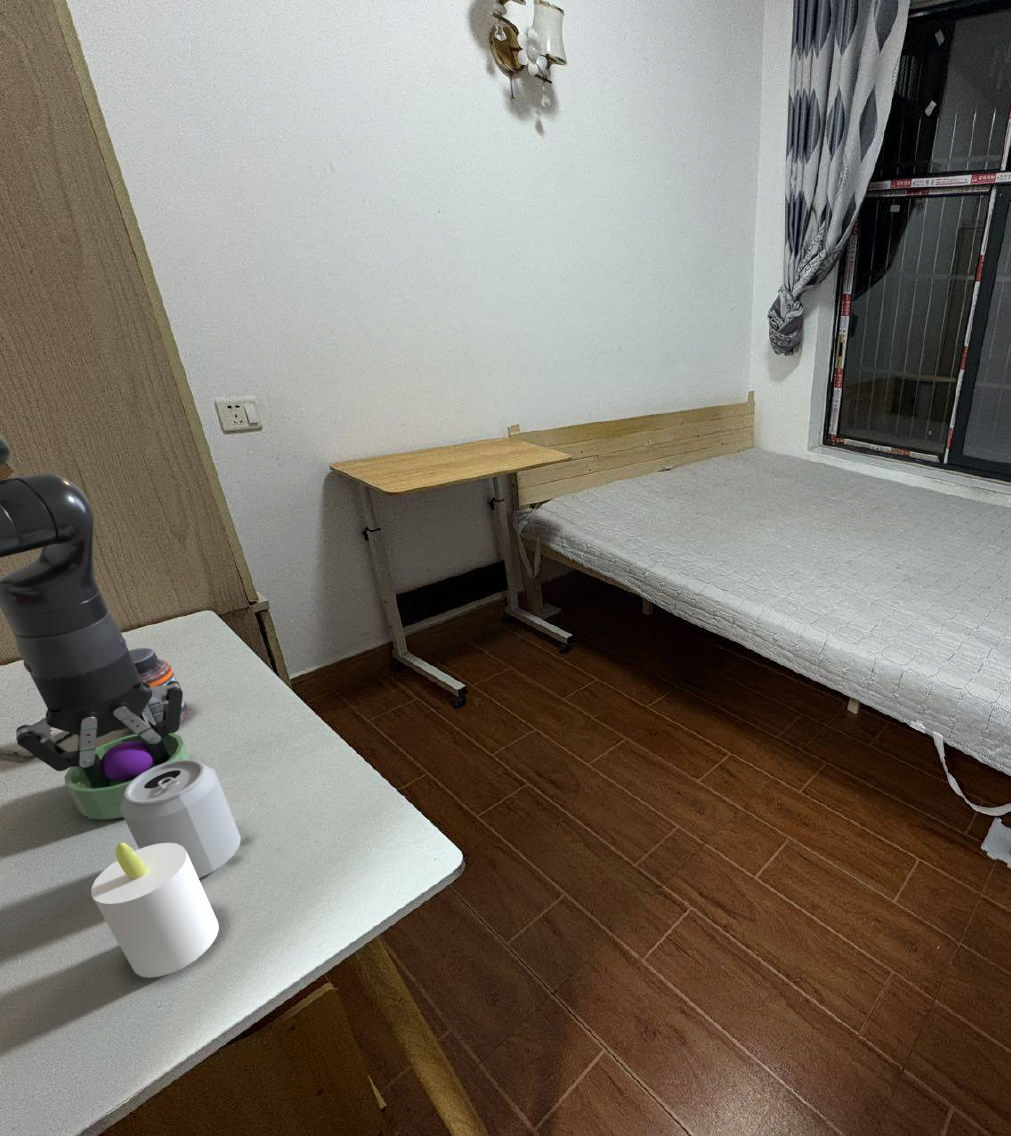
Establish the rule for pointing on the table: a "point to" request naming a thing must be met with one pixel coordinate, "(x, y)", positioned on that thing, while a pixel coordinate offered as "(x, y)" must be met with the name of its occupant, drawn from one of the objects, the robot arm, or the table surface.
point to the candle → (156, 908)
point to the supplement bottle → (154, 680)
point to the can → (182, 813)
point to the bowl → (110, 798)
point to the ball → (126, 761)
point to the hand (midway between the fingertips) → (132, 773)
